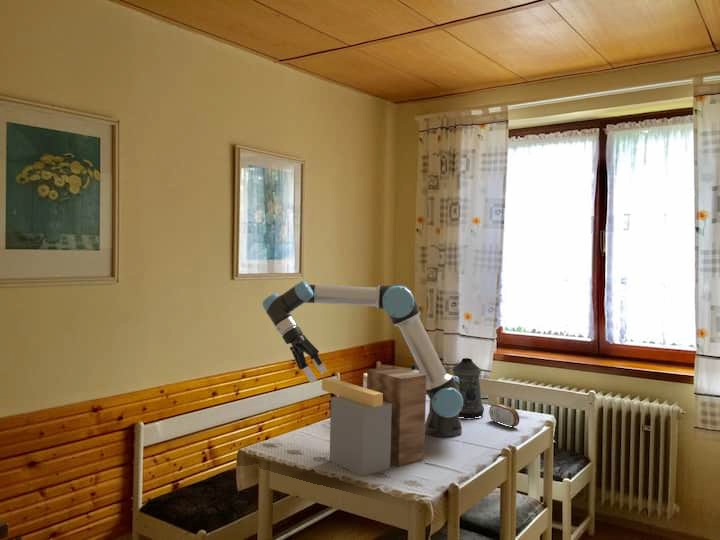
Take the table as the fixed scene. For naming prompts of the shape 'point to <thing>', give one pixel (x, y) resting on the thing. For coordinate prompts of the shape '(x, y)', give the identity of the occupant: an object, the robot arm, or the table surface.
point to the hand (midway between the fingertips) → (319, 377)
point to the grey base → (360, 436)
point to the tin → (504, 414)
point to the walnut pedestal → (403, 410)
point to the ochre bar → (353, 392)
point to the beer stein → (469, 388)
